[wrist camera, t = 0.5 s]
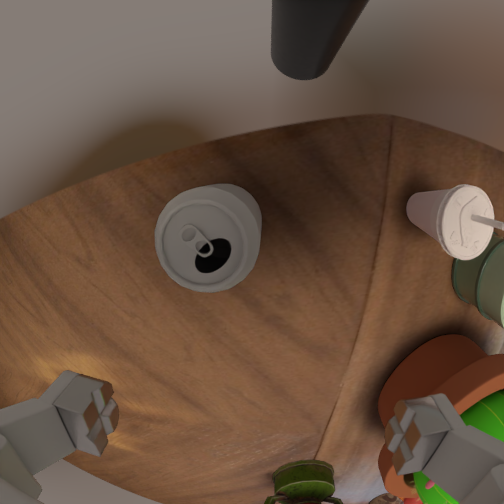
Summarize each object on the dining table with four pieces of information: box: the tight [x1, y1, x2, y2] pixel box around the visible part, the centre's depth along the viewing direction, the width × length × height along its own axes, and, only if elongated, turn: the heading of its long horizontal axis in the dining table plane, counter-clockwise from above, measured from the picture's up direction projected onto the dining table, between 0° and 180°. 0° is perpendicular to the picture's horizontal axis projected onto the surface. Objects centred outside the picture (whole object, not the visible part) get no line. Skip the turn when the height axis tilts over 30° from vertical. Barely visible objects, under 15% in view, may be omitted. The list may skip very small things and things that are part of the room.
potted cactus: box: [378, 334, 504, 504], centre depth 23 cm, size 22×22×25 cm
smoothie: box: [406, 184, 504, 260], centre depth 22 cm, size 6×6×14 cm
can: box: [155, 184, 262, 293], centre depth 25 cm, size 8×8×12 cm
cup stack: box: [452, 232, 504, 329], centre depth 26 cm, size 10×10×10 cm
